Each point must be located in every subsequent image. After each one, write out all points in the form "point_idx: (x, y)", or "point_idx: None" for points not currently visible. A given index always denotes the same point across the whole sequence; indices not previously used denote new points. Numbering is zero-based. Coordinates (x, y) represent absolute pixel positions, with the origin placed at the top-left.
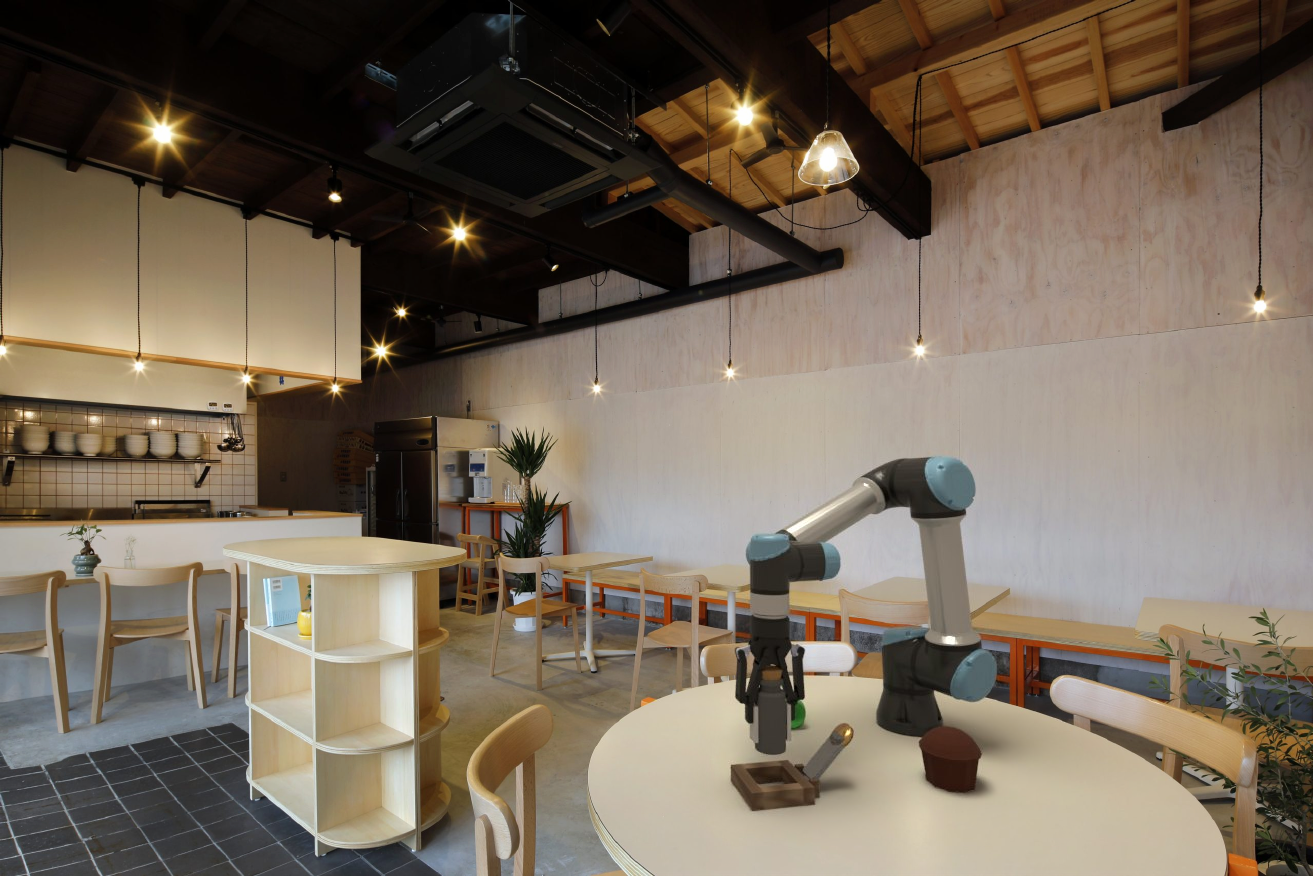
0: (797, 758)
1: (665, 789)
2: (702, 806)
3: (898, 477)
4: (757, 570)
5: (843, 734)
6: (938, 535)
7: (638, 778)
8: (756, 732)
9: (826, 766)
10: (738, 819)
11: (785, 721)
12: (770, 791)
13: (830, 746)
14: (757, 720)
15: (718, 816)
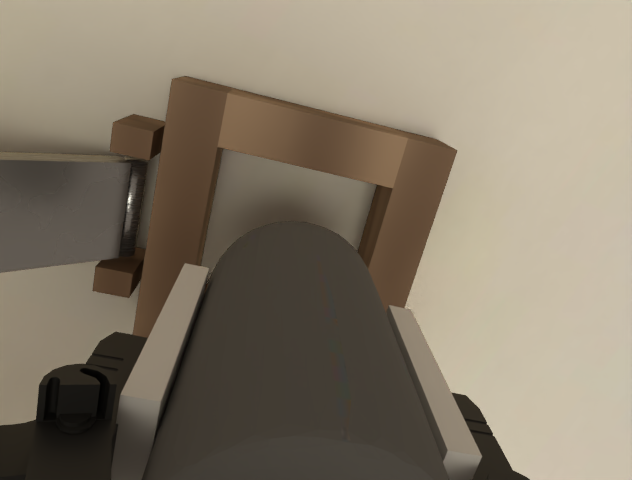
0: (32, 408)
1: (592, 380)
2: (564, 240)
3: None
4: None
5: None
6: None
7: (616, 466)
8: (413, 338)
9: (31, 155)
10: (517, 110)
11: (214, 315)
12: (378, 131)
13: None
14: (425, 381)
15: (563, 159)
